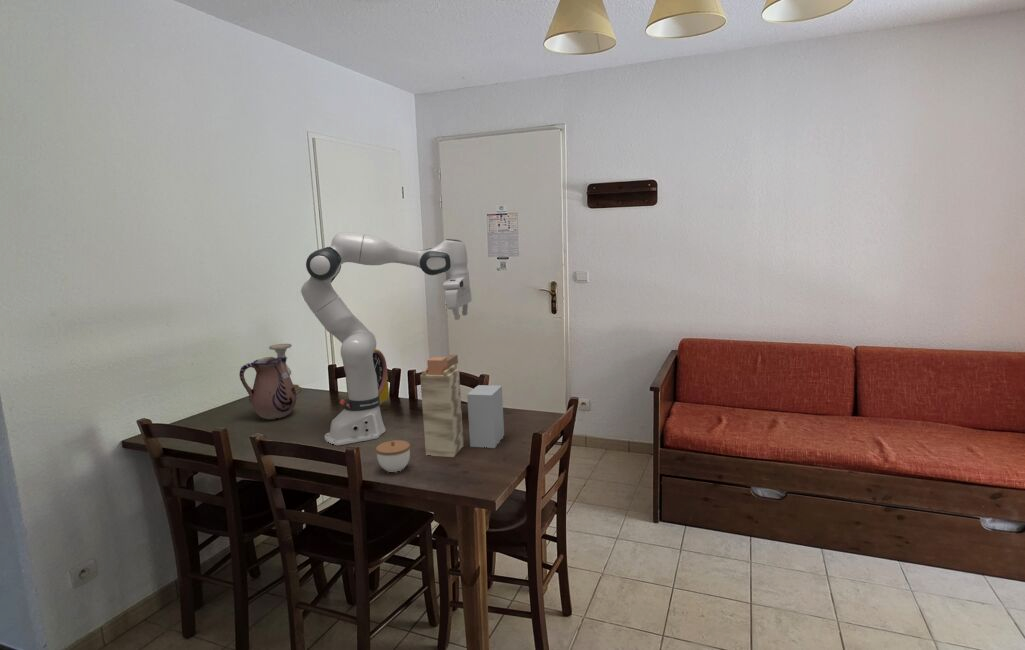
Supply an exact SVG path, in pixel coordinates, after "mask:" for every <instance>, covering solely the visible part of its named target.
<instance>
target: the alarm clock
mask: <svg viewBox="0 0 1025 650" xmlns="http://www.w3.org/2000/svg"><path fill="white" fill-rule="evenodd" d="M373 363H374V368H375V372H376V375H377V385H378V394H379V396H380V402H381V404H383V403H384V401H385V402H386V401H388V400H389V399H390V391H389V388H390V387H389V378H388V376H389V375H388V366H387V360H386V358H385V355H384V354H383V352H382V351H380V350H379V349H377V348H376V349H375V351H374V352H373ZM387 380H388V381H387ZM345 382H346V383H345V384H346V393H347V399H348V398H349V397H348V387H347V378H346V377H345ZM386 397H389V398H386ZM387 399H388V400H387ZM382 402H383V403H382Z"/></svg>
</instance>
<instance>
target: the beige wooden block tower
mask: <svg viewBox="0 0 1025 650" xmlns="http://www.w3.org/2000/svg"><path fill="white" fill-rule="evenodd" d="M419 377H420V378H419V379H420V389H421V390H420V392H421V404H422V405H421V406H422V417H423V432H424V447H425V456H427V455H431V456H430V457H446V458H454V457H455V456H456V455H457V454H458V453H459V452H460V451H461V450H462V449H463V448H464V432H463V431H464V430H463V418H462V417H463V413H462V412H463V411H462V399H461V398H462V396H461V382H460V381H461V380H460V369H459V368H458V367H457V364H456V365H452V366H451V367H449V368H448V369H446V370H445V371H443V375H428V367H427V368H425V369H423V370H421V374H420V376H419ZM462 447H463V448H462ZM461 448H462V449H461Z"/></svg>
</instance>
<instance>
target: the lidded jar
mask: <svg viewBox="0 0 1025 650" xmlns="http://www.w3.org/2000/svg"><path fill="white" fill-rule="evenodd" d="M375 452H376V458H377V462H378V464H379V465H380V468H382V469H383V470H384V471H385V470H386V471H389V472H395V473H398V472H397V471H400V472H402V471H403V470H404V469H405V467H406V466H408V463H409V461H410V458H411V457H410V456H411V444H410V443H409V442H408V441H406V440H402V439H401V440H400V439H398V440H395V439H394V440H388V441H385V442H382V443H380V444H378V445H377V446H376V448H375ZM402 469H403V470H402ZM401 470H402V471H401ZM386 471H385V472H386ZM389 472H388V473H389Z"/></svg>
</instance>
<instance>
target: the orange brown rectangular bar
mask: <svg viewBox="0 0 1025 650" xmlns="http://www.w3.org/2000/svg"><path fill="white" fill-rule="evenodd" d="M426 362H427V368H428V375H443V371H445V370H446V369H448V368H449V367H451V366H452V365H457V364H458V363H459V360H458V354H448V355H446V356H433V357H431V358H428V359H427V361H426Z"/></svg>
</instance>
